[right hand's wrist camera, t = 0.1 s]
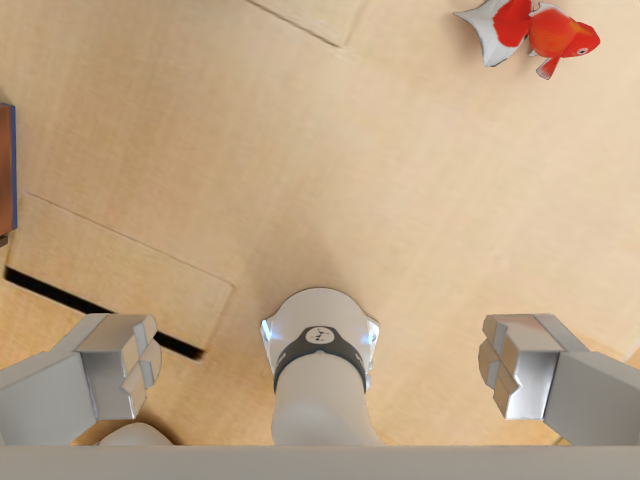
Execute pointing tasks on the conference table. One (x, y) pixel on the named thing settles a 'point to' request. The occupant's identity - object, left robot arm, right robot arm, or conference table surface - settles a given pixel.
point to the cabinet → (7, 169)
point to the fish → (529, 32)
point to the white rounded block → (135, 436)
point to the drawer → (3, 240)
